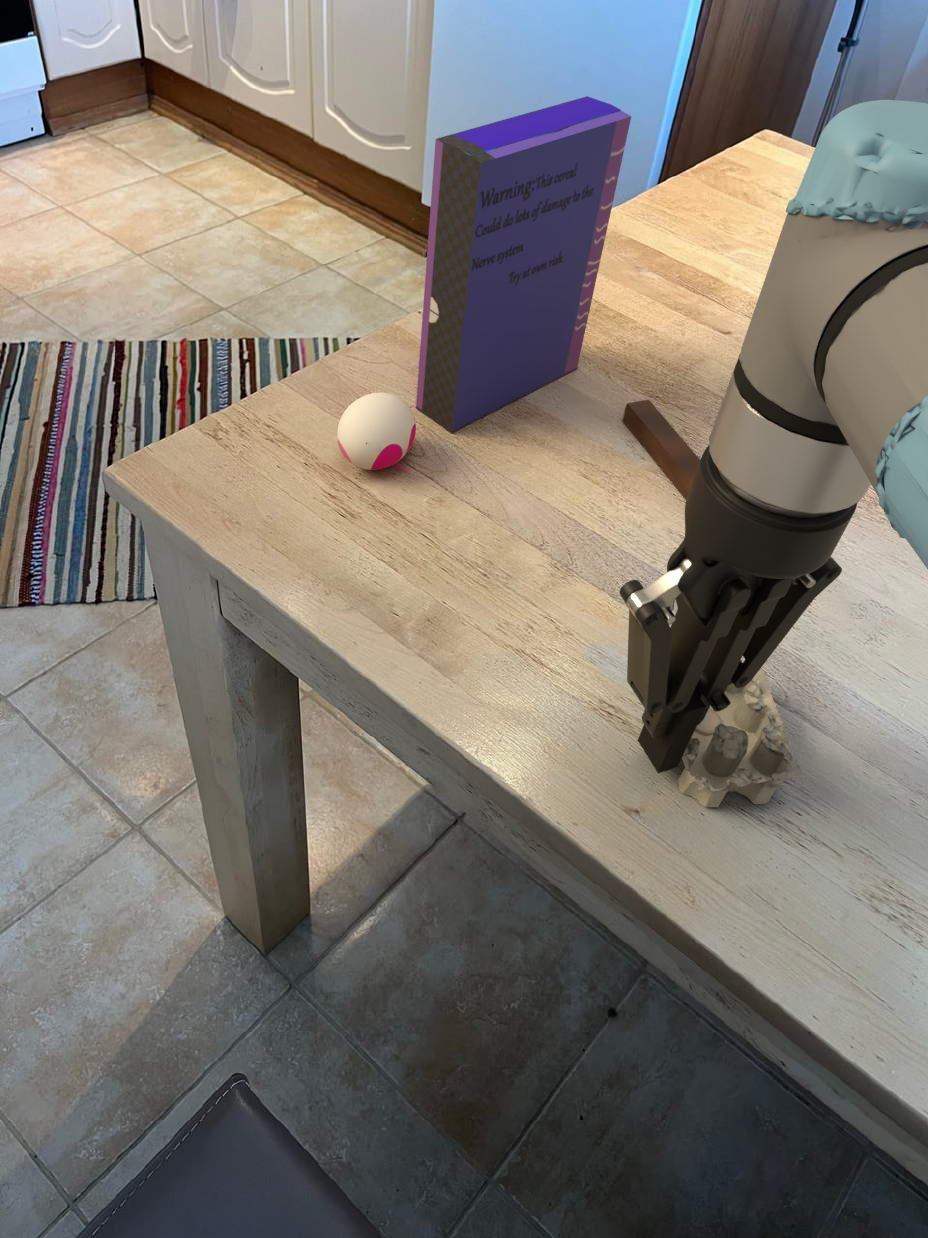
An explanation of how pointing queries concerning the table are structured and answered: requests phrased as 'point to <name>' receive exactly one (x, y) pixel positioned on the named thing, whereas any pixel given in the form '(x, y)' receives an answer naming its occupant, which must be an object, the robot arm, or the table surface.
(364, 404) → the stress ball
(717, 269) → the table surface
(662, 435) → the walnut stick
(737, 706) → the egg carton
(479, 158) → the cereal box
